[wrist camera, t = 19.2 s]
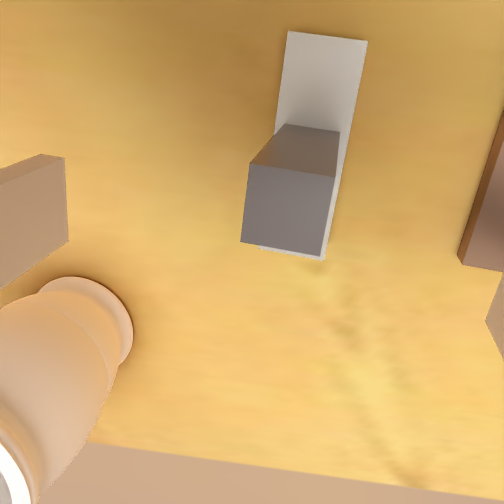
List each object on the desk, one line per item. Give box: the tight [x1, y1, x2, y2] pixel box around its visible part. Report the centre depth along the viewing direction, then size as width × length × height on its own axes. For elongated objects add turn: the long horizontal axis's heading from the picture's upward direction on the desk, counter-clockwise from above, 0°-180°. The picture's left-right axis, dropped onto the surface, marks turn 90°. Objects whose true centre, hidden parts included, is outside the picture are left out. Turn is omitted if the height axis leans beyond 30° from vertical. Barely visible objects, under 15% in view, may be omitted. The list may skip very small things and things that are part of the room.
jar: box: [0, 277, 133, 504], centre depth 30 cm, size 11×10×15 cm
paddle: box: [240, 31, 368, 261], centre depth 23 cm, size 12×4×13 cm, turn 173°
